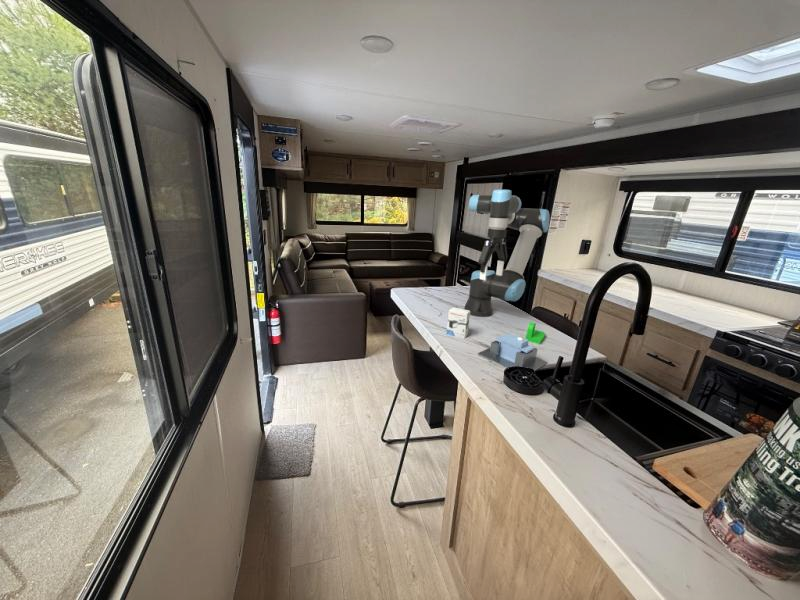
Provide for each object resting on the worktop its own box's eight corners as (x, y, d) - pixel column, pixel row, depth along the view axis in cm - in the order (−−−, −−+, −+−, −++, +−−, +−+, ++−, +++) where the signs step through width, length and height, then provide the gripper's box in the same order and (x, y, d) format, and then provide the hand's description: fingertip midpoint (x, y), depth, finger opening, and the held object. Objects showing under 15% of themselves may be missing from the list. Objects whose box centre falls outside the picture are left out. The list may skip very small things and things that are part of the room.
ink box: (445, 334, 137) (448, 309, 133) (449, 331, 141) (452, 307, 137) (464, 339, 133) (467, 313, 130) (467, 335, 137) (470, 310, 134)
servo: (500, 349, 124) (503, 329, 121) (531, 362, 114) (535, 340, 112) (493, 352, 120) (496, 332, 118) (524, 366, 111) (528, 344, 109)
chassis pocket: (500, 344, 130) (502, 332, 128) (547, 363, 115) (550, 349, 114) (477, 354, 120) (479, 341, 118) (526, 376, 105) (528, 361, 104)
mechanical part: (539, 344, 132) (543, 327, 130) (525, 340, 135) (528, 323, 133) (545, 336, 142) (548, 320, 139) (532, 332, 145) (535, 317, 143)
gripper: (504, 226, 140) (498, 271, 147) (472, 228, 124) (467, 279, 131) (519, 228, 135) (512, 274, 142) (489, 230, 119) (482, 283, 126)
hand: (491, 277), depth 136 cm, fingers open, 13 cm apart
